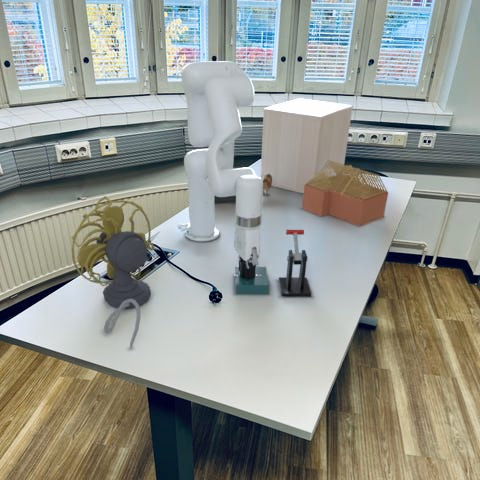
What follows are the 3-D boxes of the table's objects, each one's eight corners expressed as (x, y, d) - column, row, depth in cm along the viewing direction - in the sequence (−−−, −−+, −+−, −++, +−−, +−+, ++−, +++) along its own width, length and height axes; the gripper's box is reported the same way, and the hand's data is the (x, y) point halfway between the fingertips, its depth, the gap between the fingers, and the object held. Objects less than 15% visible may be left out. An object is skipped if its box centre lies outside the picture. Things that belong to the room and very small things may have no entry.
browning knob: (252, 279, 143) (253, 264, 140) (238, 278, 144) (239, 262, 141) (254, 272, 147) (255, 257, 144) (241, 271, 147) (241, 256, 144)
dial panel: (233, 294, 142) (233, 284, 140) (232, 275, 152) (232, 266, 150) (268, 294, 142) (268, 284, 140) (265, 275, 152) (266, 266, 150)
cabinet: (293, 166, 253) (299, 98, 234) (342, 177, 240) (353, 105, 221) (259, 183, 229) (263, 108, 210) (312, 195, 216) (321, 116, 197)
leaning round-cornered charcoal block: (245, 199, 210) (245, 178, 205) (246, 203, 206) (246, 182, 201) (209, 200, 209) (209, 179, 203) (209, 203, 205) (209, 182, 200)
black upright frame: (278, 280, 149) (281, 245, 142) (306, 280, 150) (310, 246, 143) (281, 296, 141) (284, 260, 134) (310, 296, 141) (315, 260, 134)
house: (301, 208, 202) (305, 163, 191) (336, 197, 215) (342, 154, 204) (351, 228, 185) (359, 181, 174) (386, 215, 197) (396, 170, 186)
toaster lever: (285, 233, 145) (286, 228, 143) (303, 233, 145) (304, 228, 143) (288, 264, 140) (289, 260, 138) (306, 264, 140) (307, 260, 138)
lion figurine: (265, 190, 221) (266, 171, 215) (274, 193, 218) (275, 174, 213) (244, 198, 212) (245, 178, 207) (253, 201, 209) (254, 181, 204)
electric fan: (149, 274, 151) (139, 184, 134) (207, 317, 131) (205, 217, 114) (72, 301, 137) (50, 203, 120) (125, 354, 117) (108, 245, 100)
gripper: (226, 210, 140) (226, 264, 150) (247, 232, 127) (245, 289, 137) (249, 207, 142) (247, 261, 153) (272, 229, 129) (268, 285, 140)
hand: (246, 274), depth 145 cm, fingers closed on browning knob, 4 cm apart
